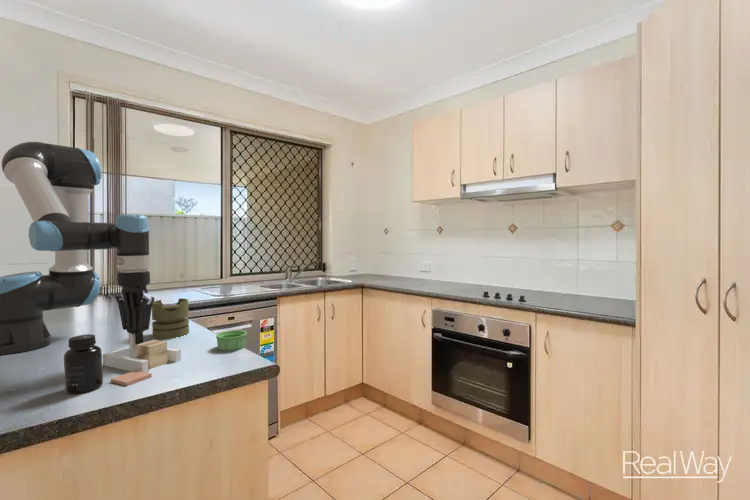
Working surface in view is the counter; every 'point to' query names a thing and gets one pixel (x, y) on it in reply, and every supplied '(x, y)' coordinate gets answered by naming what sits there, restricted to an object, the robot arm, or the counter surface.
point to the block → (153, 353)
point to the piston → (170, 319)
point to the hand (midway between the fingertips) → (136, 355)
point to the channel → (134, 359)
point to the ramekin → (231, 340)
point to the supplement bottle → (83, 365)
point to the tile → (131, 377)
